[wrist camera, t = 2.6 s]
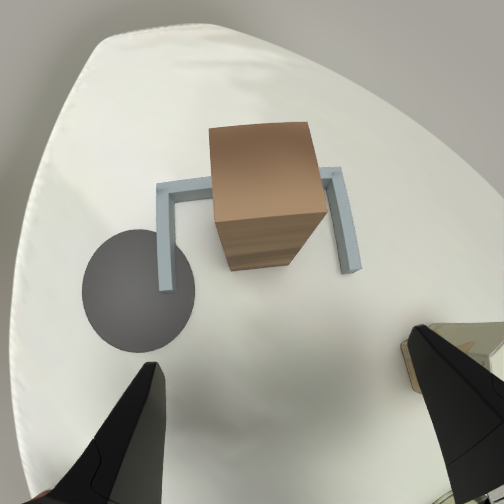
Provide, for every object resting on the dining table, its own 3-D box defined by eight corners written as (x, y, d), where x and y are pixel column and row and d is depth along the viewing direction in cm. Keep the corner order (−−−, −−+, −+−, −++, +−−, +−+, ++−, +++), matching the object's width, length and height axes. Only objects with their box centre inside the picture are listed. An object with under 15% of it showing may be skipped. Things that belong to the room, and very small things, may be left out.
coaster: (161, 374, 21) (160, 375, 21) (68, 313, 22) (65, 313, 22) (216, 262, 23) (216, 261, 23) (117, 212, 24) (115, 211, 24)
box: (398, 343, 22) (488, 351, 11) (435, 321, 22) (525, 315, 12) (413, 394, 21) (497, 424, 10) (448, 371, 21) (534, 384, 11)
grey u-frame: (353, 272, 23) (362, 268, 21) (166, 293, 23) (159, 290, 21) (334, 177, 25) (340, 166, 23) (162, 193, 25) (156, 183, 23)
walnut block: (288, 264, 23) (327, 211, 12) (230, 271, 23) (214, 222, 11) (280, 211, 24) (307, 121, 13) (225, 216, 24) (208, 128, 12)
